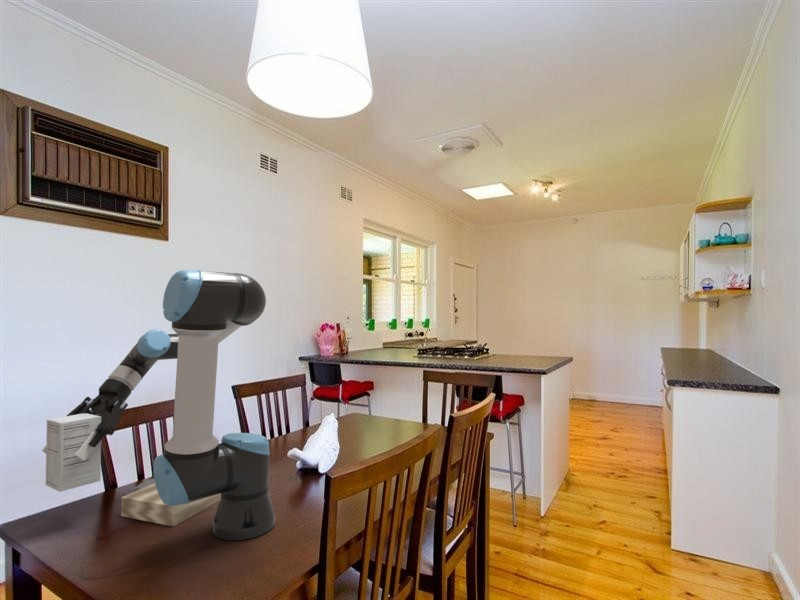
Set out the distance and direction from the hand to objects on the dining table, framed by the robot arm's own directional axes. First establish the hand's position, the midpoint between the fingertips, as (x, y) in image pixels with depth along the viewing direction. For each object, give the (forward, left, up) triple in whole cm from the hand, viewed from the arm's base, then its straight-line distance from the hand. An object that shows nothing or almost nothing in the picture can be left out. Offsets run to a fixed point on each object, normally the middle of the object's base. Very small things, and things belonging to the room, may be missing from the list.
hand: (62, 455), depth 112 cm
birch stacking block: (-17, -19, -18) cm, 32 cm away
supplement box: (0, -3, -8) cm, 8 cm away
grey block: (-2, -25, -19) cm, 31 cm away
